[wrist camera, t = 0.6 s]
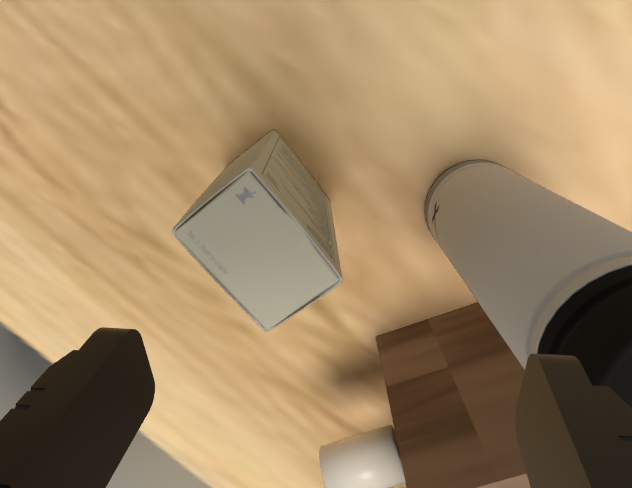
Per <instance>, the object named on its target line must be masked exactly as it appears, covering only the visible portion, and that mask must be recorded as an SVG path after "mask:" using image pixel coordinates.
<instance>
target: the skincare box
mask: <svg viewBox="0 0 632 488" xmlns="http://www.w3.org/2000/svg"><path fill="white" fill-rule="evenodd" d="M173 234H174V236H175V237H176V238H177V239H178V240H179V241H180V243H181V244H182V245H183V246H184V247H185V248H186V249H187V251H188V252H189V253H190V254H191V255H192V256H193V257H194V258H195V260H196V261H197V262H198V263H199V264H200V265H201V266H202V267H203V268H204V269H205V270H206V271H207V273H208V274H209V275H210V276H211V277H212V278H213V279H214V280H215V281H216V282H217V283H218V284H219V285H220V286H221V287H222V288H223V289H224V290H225V292H226V293H227V294H228V295H229V296H230V297H231V298H232V299H233V300H234V301H235V302H236V303H237V304H238V305H239V306H240V307H241V308H242V309H243V310H244V311H245V312H246V313H247V314H248V315H249V316H250V317H251V318H252V319H253V321H254V322H255V323H256V324H258V326H260V327H261V328H262V329H263V330H264V331H265V332H268V331H270V330H272V329H273V328H275V327H276V326H278V325H279V324H281V323H283V322H284V321H286V320H287V319H289V318H290V317H292V316H293V315H295V314H297V313H298V312H300V311H301V310H303V309H304V308H306V307H307V306H309V305H310V304H312V303H313V302H315V301H317V300H318V299H320V298H321V297H322V296H324V295H325V294H327V293H328V292H330V291H331V290H333V289H334V288H336V287H337V286H338V285H340V284H341V283H342V274H341V268H340V261H339V255H338V249H337V243H336V236H335V230H334V224H333V218H332V211H331V205H330V201H329V199H328V198H327V196H326V195H325V194H324V192H323V191H322V190H321V188H320V187H319V186H318V184H317V183H316V181H315V180H314V179H313V177H312V176H311V175H310V173H309V172H308V171H307V169H306V168H305V167H304V166H303V164H302V163H301V162H300V160H299V159H298V158H297V156H296V155H295V154H294V153H293V151H292V150H291V149H290V148H289V146H288V145H287V144H286V143H285V141H284V140H283V139H282V138H281V136H280V135H279V134H278V133H277V132H276V131H275V130H272V131H271V132H269V133H268V134H267V135H265V136H264V137H263V138H261V139H260V140H259V141H257V142H256V143H255V144H254V145H252V146H251V147H250V148H249V149H247V150H246V151H245V152H244V153H242V154H241V155H240V156H239V157H237V158H236V159H235V160H234V161H233V162H232V163H230V164H229V165H228V166H227V167H226V168H225V169H224V170H223V171H222V172H221V173H220V175H219V176H218V177H217V178H216V179H215V180H214V181H213V183H212V184H211V185H210V186H209V187H208V188H207V189H206V190H205V192H204V193H203V194H202V195H201V196H200V197H199V198H198V200H197V201H196V202H195V203H194V204H193V205H192V207H191V208H190V209H189V210H188V211H187V213H186V214H185V215H184V216H183V217H182V219H181V220H180V221H179V222H178V224H177V225H176V226H175V227H174V228H173Z"/></svg>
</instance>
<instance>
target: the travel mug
mask: <svg viewBox="0 0 632 488" xmlns="http://www.w3.org/2000/svg"><path fill="white" fill-rule="evenodd" d="M425 219H426V223H427V226H428V229H429V231H430V232H431V234H432V235H433V237H434V238H435V240H436V241H437V243H438V244H439V246H440V247H441V249H442V250H443V252H444V253H445V254H446V256H447V257H448V259H449V260H450V262H451V263H452V265H453V266H454V268H455V269H456V270H457V272H458V273H459V275H460V276H461V278H462V279H463V281H464V282H465V284H466V285H467V286H468V288H469V289H470V291H471V292H472V294H473V295H474V297H475V298H476V300H477V301H478V303H479V304H480V305H481V307H482V308H483V310H484V311H485V313H486V314H487V316H488V317H489V319H490V320H491V321H492V323H493V324H494V326H495V327H496V329H497V330H498V332H499V333H500V335H501V336H502V337H503V339H504V340H505V342H506V343H507V345H508V346H509V348H510V349H511V351H512V352H513V354H514V355H515V356H516V358H517V359H518V361H519V362H520V364H521V365H522V367H523V368H524V370H525V368H526V363H527V360H528V357H529V356H530V354H551V355H568V356H575V357H576V358H577V359H578V360H579V361H580V363H581V365H582V367H583V369H584V370H585V372H586V374H587V376H588V378H589V380H590V382H591V384H592V386H606V387H609V388H610V389H611V390H613V391H614V392H615V393H616V394H617V395H618V396H619V397H620V398H621V399H622V400H623V401H625V402H626V403H627V404H628V405H629V406H630V407H631V408H632V232H630V231H628V230H626V229H624V228H622V227H620V226H618V225H616V224H615V223H613V222H611V221H609V220H607V219H605V218H603V217H601V216H599V215H597V214H595V213H593V212H591V211H589V210H587V209H585V208H583V207H581V206H579V205H577V204H575V203H573V202H571V201H569V200H568V199H566V198H564V197H562V196H560V195H558V194H556V193H554V192H552V191H550V190H548V189H546V188H544V187H542V186H540V185H538V184H536V183H534V182H532V181H530V180H528V179H526V178H524V177H523V176H521V175H519V174H517V173H515V172H513V171H511V170H509V169H507V168H505V167H503V166H501V165H499V164H496V163H494V162H491V161H486V160H471V161H466V162H462V163H460V164H457V165H455V166H453V167H451V168H450V169H448V170H447V171H445V172H444V173H443V174H442V175H441V176H440V177H439V178H438V179H437V180H436V181H435V183H434V184H433V185H432V187H431V189H430V191H429V193H428V196H427V199H426V203H425Z"/></svg>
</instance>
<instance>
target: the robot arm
mask: <svg viewBox="0 0 632 488" xmlns="http://www.w3.org/2000/svg"><path fill="white" fill-rule="evenodd" d="M154 393H155V382H154V378H153V374H152V371H151V368H150V364H149V361H148V357H147V354H146V350H145V347H144V344H143V340H142V337H141V335H140V333H139V332H138V331H137V330H135V329H120V328H99V329H97V330H96V331H95V332H94V333H93V334H92V335H91V336H90V338H89V339H88V340H87V341H86V342H85V343H84V344H83V346H82V347H81V348H80V349H79V350H73V351H72V352H70V353H69V354H67V355H66V356H64V357H63V358H61V359H60V360H59V361H57V362H56V363H54V364H53V365H51V366H50V367H49V368H48V369H47V370H46V371H45V372H44V373H43V374H42V375H41V377H40V378H39V379H38V380H37V381H36V382H35V383H34V384H33V386H32V387H31V391H27V392H26V393H25V394H24V395H23V396H22V398H21V399H20V400H19V401H18V402H17V403H16V407H15V408H14V409H11V410H10V411H9V412H8V413H7V414H6V415H5V416H4V418H3V419H2V420H1V421H0V488H106V486H107V484H108V482H109V481H110V479H111V477H112V475H113V473H114V472H115V470H116V468H117V467H118V465H119V463H120V461H121V459H122V458H123V456H124V454H125V453H126V451H127V449H128V447H129V445H130V444H131V442H132V440H133V438H134V437H135V435H136V433H137V431H138V430H139V428H140V426H141V424H142V423H143V421H144V419H145V417H146V416H147V414H148V412H149V410H150V408H151V406H152V403H153V399H154ZM515 430H516V437H517V442H518V445H519V449H520V452H521V456H522V459H523V463H524V466H525V470H526V473H527V477H528V480H529V484H530V487H531V488H632V408H631V407H630V406H629V405H628V404H627V403H626V402H625V401H623V400H622V399H621V398H620V397H619V396H618V395H617V394H616V393H615V392H614V391H613V390H611V389H610V388H609V387H606V386H592V384H591V382H590V380H589V378H588V376H587V374H586V372H585V370H584V369H583V367H582V365H581V363H580V361H579V360H578V359H577V358H576V357H575V356H568V355H551V354H530V356H529V357H528V360H527V363H526V368H525V372H524V376H523V380H522V384H521V389H520V393H519V397H518V401H517V406H516V411H515Z"/></svg>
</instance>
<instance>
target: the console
mask: <svg viewBox="0 0 632 488" xmlns="http://www.w3.org/2000/svg"><path fill="white" fill-rule="evenodd" d="M376 341H377V345H378V350H379V355H380V360H381V365H382V370H383V375H384V379H385V384H386V389H387V394H388V399H389V404H390V409H391V413H392V418H393V423H394V428H395V433H396V438H397V443H398V447H399V452H400V457H401V462H402V467H403V472H404V477H405V481H406V486H407V488H531V487H530V484H529V480H528V477H527V473H526V470H525V466H524V463H523V459H522V456H521V452H520V449H519V445H518V442H517V437H516V430H515V411H516V406H517V401H518V397H519V393H520V389H521V384H522V380H523V376H524V372H525V370H524V368H523V367H522V365H521V364H520V362H519V361H518V359H517V358H516V356H515V355H514V354H513V352H512V351H511V349H510V348H509V346H508V345H507V343H506V342H505V340H504V339H503V337H502V336H501V335H500V333H499V332H498V330H497V329H496V327H495V326H494V324H493V323H492V321H491V320H490V319H489V317H488V316H487V314H486V313H485V311H484V310H483V308H482V307H481V305H480V304H479V303H476V304H473V305H470V306H467V307H464V308H461V309H458V310H455V311H452V312H449V313H446V314H443V315H440V316H437V317H434V318H431V319H428V320H425V321H422V322H419V323H416V324H413V325H410V326H407V327H404V328H401V329H398V330H395V331H392V332H389V333H386V334H383V335H380V336H377V337H376Z"/></svg>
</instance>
